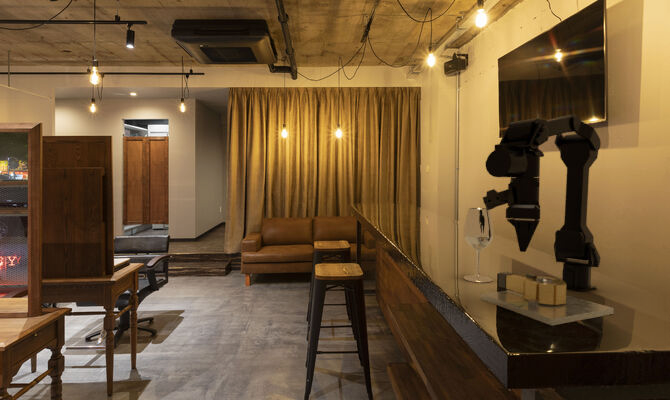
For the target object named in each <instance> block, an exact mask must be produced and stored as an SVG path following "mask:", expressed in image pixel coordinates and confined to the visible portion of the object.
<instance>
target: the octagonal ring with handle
mask: <svg viewBox="0 0 670 400" xmlns="http://www.w3.org/2000/svg"><path fill="white" fill-rule="evenodd" d="M536 277H540V276H538V275H536V274H532V273H525V276H521V275H517V274H515V273H512V272H509V271H503V272H498V287H499V288H502V289H506V290H513V291H516V292H519V293H522V294H523V298H525V299H526V300H530V299H535V300H540V301H539V303H541V304H550V305H553V304H555V305H558V304H565V303H566V295H567V288H566V283H565V282H564V281H563V280H562V279H558V278H554V277H547V276H544V277H545V278H550V279H552V280H553V283H551V284H549V283H540V282H536Z"/></svg>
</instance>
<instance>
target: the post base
mask: <svg viewBox="0 0 670 400" xmlns="http://www.w3.org/2000/svg"><path fill="white" fill-rule="evenodd" d="M545 277H546V276H539V277H536V282H540V283H549V284H551V283H553V280H552V279H550V278H551V277H549V278H545ZM480 300H483V301H485V302H488V303H491V304H493V305H496V306H498V307H502V308H504V309H506V310H509V311H512V312H515V313H517V314H520V315H522V316H525V317H527V318H531V319H533V320H536V321H539V322H541V323H544V324H547V325H549V326H556V325H563V324H567V323H573V322H578V321H583V320H589V319H595V318H598V317H606V316H610V314H611V315H614V314H615V313H614V311H615V310H614V309H615V308H613V307H610V306H607V305H604V304H600V303H596V302H593V301H590V300H586V299H582V298H579V297H576V296H571V295H567V294H566V303H565V304H558V305H555V304H553V305H550V304H541V303H539V301H540V300H535V299H530V300H526V299H525V298H523V294H522V293H519V292H516V291H513V290H509V289H506V290H501V291H494V292H493V291H492V292H487V293H485V292H484V293H481V294H480Z"/></svg>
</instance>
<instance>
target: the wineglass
mask: <svg viewBox="0 0 670 400" xmlns="http://www.w3.org/2000/svg"><path fill="white" fill-rule="evenodd" d="M493 222H494V221H493V217H492V214H491V210H487V209H486V207H469V208H468V209H467V214H466V217H465V223H464V229H463V238H464V240H465V241H466V243H467V244H468V245H469V246H470V247H472V248H473V249H474V250H475V252H476V269H475V270H476V271H475V273H474V274H472V275H471V274H467V275H464V276H463V279H464V280H465V281H469V282H472V283H486V284H487V283H490V282H492V281H493V278H491V277H489V276H484V275H483V274H481V273H480V272H481V271H480V256H481V255H480V254H481V252H482V251H481V250H483V249H485V248H487V247H488V246H489V245H491V243H492V242H493V239H494V235H495V231H494V224H493Z"/></svg>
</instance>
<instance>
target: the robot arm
mask: <svg viewBox="0 0 670 400" xmlns="http://www.w3.org/2000/svg"><path fill="white" fill-rule="evenodd" d="M573 132H574V133H573ZM565 133H573V134H566V135H563V134H565ZM550 137H555V138H554V142H553V143H554V144H555V146H556V147H557V149H558V150H559V153H560V154H559V156H560V160H561V161H562V162H563V164H564V165H565V167H566V183H565V184H566V185H565V201H564V202H565V203H564V221H563V224H562V226H561V228H560V229H557V230H556V231H555V233H554V238H555V240H554V244H553V250H554V256H555V258H554V259H555V262H556V263H563V264H562V265H563V266H562V271H561V272H562V273H561V274H562V275H561V280H563V281H564V282H565V283H566V289H570V290H574V291H579V292H584V291H591V290H597V286H594V285H591V283H592V282H591V281H592V280H591V279H592V268H599V267H600V263H601V256H600V254H599V251H598V250H597V249H598V248H596V245H595V242H594V235H593V233H592V231H591V230H590V229H589V227H588V225H587V223H588V222H587V221H588V220H587V218H588V216H587V215H588V198H589V181H590V179H589V178H590V168H591V167H592V166H593V164H594V163H595V162H596V160H597V159H598V155H599V150H600V149H601V138H600V136H599V134H598V133H597V130H596V129H595V128H594V127H593V126H591V125H589V124H587V123H585V122H584V121H583V120H581V118H580V116H579V115H577V114H568V115H560V116H556V117H555V118H551V119H546V118H540V117H537V118H532V119H524V120H518V121H512V122H509V124H507V128H506V129H505V131H504V133H503V135H502V137H501V139H500V141H499V143H497V144H495V145H494V150H493V151H491V152H490V153H489V154H488V157H487V158H486V160H485V169H486V171H487V173H488V174H489V175H490V176H492V177H494V178H510V179H509V180H510V182H509V183H508V184H507V189H504V190H502V191H497V190H496V189H495V188H493V189H490V190H487V191H486V195H485V196H483V197H482V201H483V204H484V206H485V208H486V209H487V210H490V211H491V210H493V209H495V208H497V207H500V206H503V205H506V204H507V207H506V208H505V218H506V221H507V222H508V223H509V224H510V225H512V226H513V228H514V230H515V235H516V239H517V244H518V249H519V252H522V253H525V252H526V251H527V250H528V248H529V246H530V243H531V240H532V239H533V236H534V234H535V232H536V229H537V227H538V225H539V224H540V221H541V220H540V219H541V204H540V185H541V184H540V178H541V177H540V176H541V175H540V173H541V172H540V170H541V167H540V166H541V158H544V156H545V154H544V151H542V150H540V149H539V146H542V145H543V144H544V143H546V142H549V138H550Z"/></svg>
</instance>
